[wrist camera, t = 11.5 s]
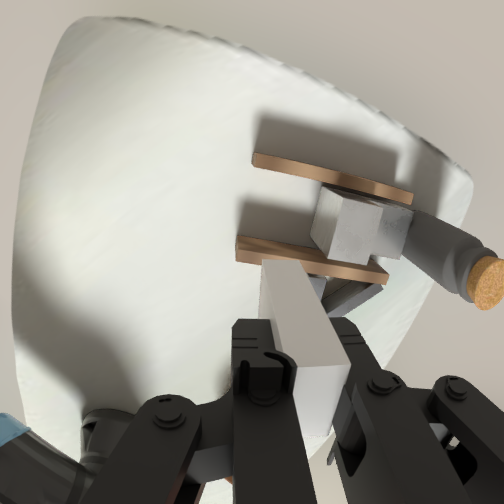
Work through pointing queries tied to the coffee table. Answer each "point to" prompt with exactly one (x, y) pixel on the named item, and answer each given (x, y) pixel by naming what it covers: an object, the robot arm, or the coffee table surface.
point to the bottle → (455, 260)
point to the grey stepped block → (358, 227)
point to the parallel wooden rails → (309, 257)
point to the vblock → (343, 295)
